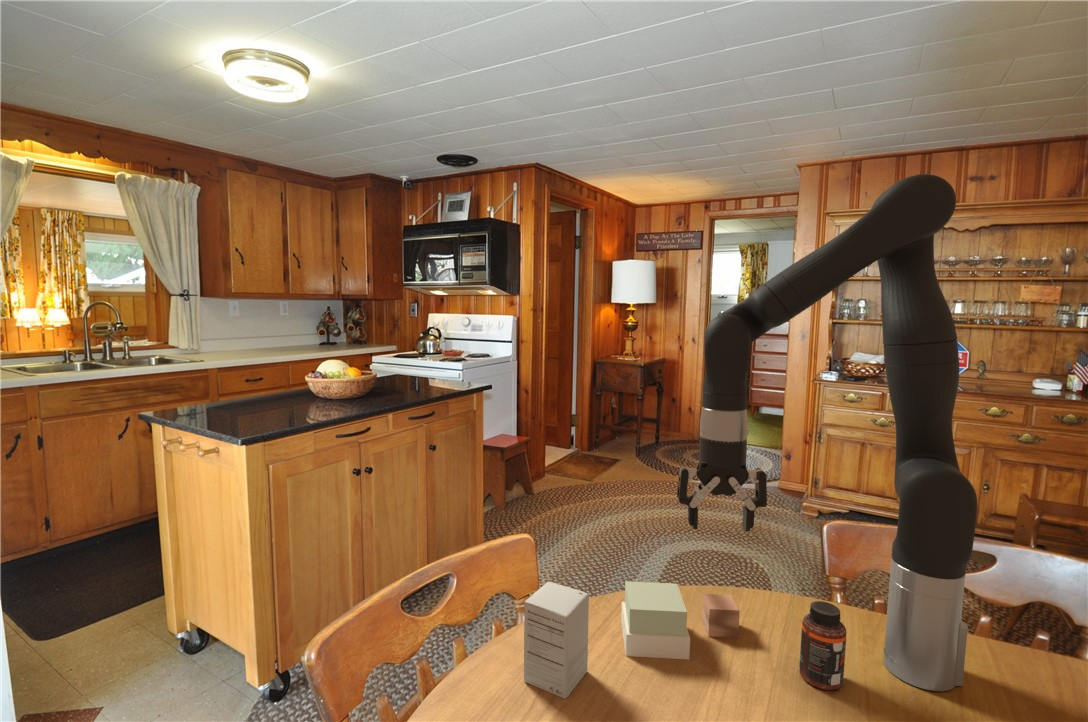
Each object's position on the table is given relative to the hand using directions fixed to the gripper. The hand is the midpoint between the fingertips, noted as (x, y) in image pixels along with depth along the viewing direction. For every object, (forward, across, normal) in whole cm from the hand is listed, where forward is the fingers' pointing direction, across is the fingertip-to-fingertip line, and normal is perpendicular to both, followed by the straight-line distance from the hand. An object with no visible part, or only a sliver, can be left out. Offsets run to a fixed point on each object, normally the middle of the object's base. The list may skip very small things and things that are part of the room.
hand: (719, 528), depth 92 cm
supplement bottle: (+19, -13, +10) cm, 25 cm away
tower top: (+15, +11, +3) cm, 19 cm away
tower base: (+19, +11, +3) cm, 22 cm away
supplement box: (+18, +26, +15) cm, 36 cm away
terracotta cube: (+19, -1, -2) cm, 19 cm away
